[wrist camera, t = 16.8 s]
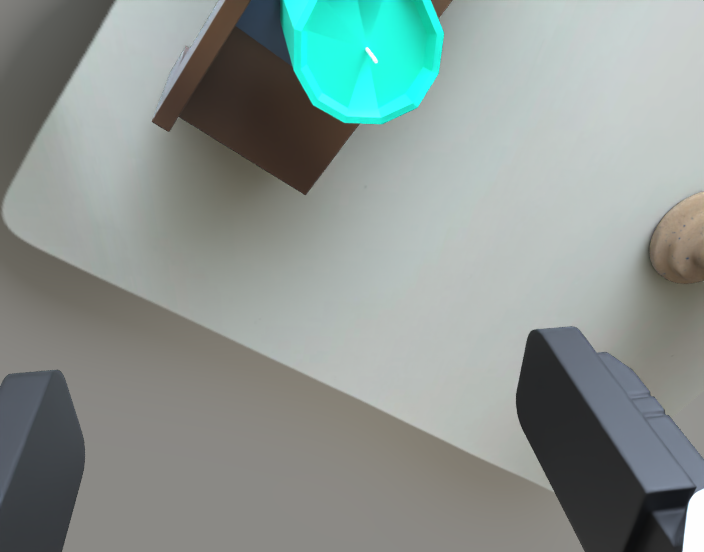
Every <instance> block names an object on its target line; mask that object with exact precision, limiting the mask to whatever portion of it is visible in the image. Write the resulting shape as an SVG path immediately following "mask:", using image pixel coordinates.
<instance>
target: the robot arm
mask: <svg viewBox="0 0 704 552" xmlns="http://www.w3.org/2000/svg"><path fill="white" fill-rule="evenodd" d="M516 408H517V414H518V418H519V422H520V424H521V427H522V429H523V431H524V433H525V435H526V437H527V439H528V441H529V443H530V445H531V447H532V449H533V451H534V453H535V455H536V457H537V459H538V461H539V463H540V465H541V466H542V468H543V470H544V472H545V474H546V476H547V478H548V480H549V482H550V484H551V486H552V488H553V490H554V492H555V494H556V496H557V498H558V500H559V502H560V504H561V506H562V508H563V510H564V511H565V514H566V515H567V517H568V519H569V521H570V523H571V525H572V527H573V529H574V531H575V533H576V535H577V537H578V539H579V541H580V543H581V545H582V547H583V549H584V551H585V552H704V459H703V458H702V456H701V455H700V454H699V453H698V451H697V450H696V449H695V447H694V446H693V445H692V444H691V443H690V441H689V440H688V439H687V437H686V436H685V435H684V434H683V432H682V431H681V430H680V429H679V427H678V426H677V425H676V424H675V422H674V421H673V420H672V419H671V417H670V416H669V415H665V410H664V409H663V407H662V406H661V405H660V404H659V402H658V401H657V400H656V399H655V397H654V396H653V397H651V395H650V391H649V390H648V389H647V387H646V386H645V385H644V383H643V382H642V381H641V380H640V378H639V377H638V376H637V375H636V373H635V372H634V371H633V370H632V369H631V368H629V367H628V366H626V365H625V364H623V363H622V362H621V361H619V360H618V359H616V358H615V357H613V356H612V355H610V354H609V353H607V352H600V353H596V351H595V350H594V349H593V347H592V346H591V345H590V343H589V342H588V341H587V339H586V338H585V337H584V335H583V334H582V333H581V331H580V330H579V329H578V328H576V327H573V326H570V327H559V328H547V329H536V330H532V331H531V332H530V333H529V335H528V338H527V342H526V347H525V352H524V357H523V362H522V367H521V372H520V377H519V382H518V387H517V393H516ZM84 463H85V446H84V438H83V435H82V431H81V428H80V424H79V421H78V418H77V415H76V412H75V409H74V406H73V402H72V399H71V396H70V393H69V390H68V387H67V383H66V380H65V378H64V375H63V374H62V372H61V371H59V370H50V371H49V370H48V371H39V372H38V371H37V372H26V373H14V374H9V375H7V376H6V377H5V378H4V380H3V382H2V384H1V386H0V552H62V549H63V545H64V541H65V538H66V534H67V531H68V527H69V523H70V520H71V516H72V512H73V509H74V505H75V501H76V497H77V494H78V490H79V486H80V483H81V479H82V475H83V471H84Z"/></svg>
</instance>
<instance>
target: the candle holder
mask: <svg viewBox="0 0 704 552" xmlns="http://www.w3.org/2000/svg"><path fill="white" fill-rule="evenodd" d="M649 252H650V259H651V263H652V265H653V267H654V268H655V269H656V271H657V272H658V273H659V274H660V275H661V276H663V277H664V278H665V279H667V280H669V281H671V282H675V283H680V284H689V283H696V282H700V281H703V280H704V192H700V193H697V194H694V195H692V196H690V197H688V198H686V199H684V200H683V201H681V202H680V203H678V204H677V205H676V206H675V207H673V208H672V209H671V210H670V211H669V212H668V213H667V214H666V215H665V216H664V217H663V219H662V220H661V221H660V222H659V224H658V226H657V227H656V229H655V231H654V233H653V235H652V239H651V242H650V249H649Z"/></svg>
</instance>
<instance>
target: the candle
mask: <svg viewBox="0 0 704 552" xmlns="http://www.w3.org/2000/svg"><path fill="white" fill-rule="evenodd" d="M280 22H281V26H282V29H283V33H284V37H285V40H286V44H287V48H288V51H289V55H290V59H291V63H292V66H293V70H294V72H295V74H296V76H297V77H298V79H299V81H300V83H301V85H302V86H303V88H304V90H305V92H306V94H307V95H308V97H309V99H310V101H311V102H312V104H313V105H314V106H316V107H317V108H319V109H321V110H323V111H324V112H326V113H328V114H330V115H332V116H333V117H335V118H337V119H339V120H340V121H342V122H344V123H361V124H384V123H386V122H388V121H390V120H392V119H395V118H397V117H399V116H401V115H403V114H405V113H407V112H410V111H412V110H414V109H416V108H418V106H419V104H420V103H421V101H422V100H423V98H424V96H425V95H426V93H427V92H428V90H429V88H430V87H431V85H432V84H433V82H434V80H435V79H436V77H437V76H438V74H439V68H440V60H441V53H442V46H443V38H444V31H443V29H442V26H441V24H440V22H439V19H438V17H437V14H436V12H435V9H434V7H433V5H432V2H431V0H280Z"/></svg>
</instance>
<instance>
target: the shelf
mask: <svg viewBox="0 0 704 552" xmlns="http://www.w3.org/2000/svg"><path fill="white" fill-rule="evenodd" d="M431 2H432V5H433V7H434V9H435V12H436V14H437V17H438V19H439V18H440V16H441V15H442V14H443V12H444V11H445V10H446V8H447V7H448V6H449V4H450V3H451V2H452V0H431ZM178 117H180V118H181V119H183V120H185V121H186V122H188V123H189V124H191V125H193V126H194V127H196V128H198V129H199V130H201V131H202V132H204V133H206V134H207V135H209V136H210V137H212V138H214V139H215V140H217V141H219V142H220V143H222V144H223V145H225V146H227V147H228V148H230V149H231V150H233V151H235V152H236V153H238V154H240V155H241V156H243V157H244V158H246V159H248V160H249V161H251V162H252V163H254V164H256V165H257V166H259V167H261V168H262V169H264V170H265V171H267V172H269V173H270V174H272V175H273V176H275V177H277V178H278V179H280V180H282V181H283V182H285V183H286V184H288V185H290V186H291V187H293V188H294V189H296V190H298V191H299V192H301V193H303V194H304V195H306V194H307V193H308V192H309V190H310V189H311V188H312V186H313V185H314V184H315V182H316V181H317V180H318V178H319V177H320V176H321V174H322V173H323V172H324V170H325V169H326V168H327V166H328V165H329V164H330V162H331V161H332V160H333V158H334V157H335V156H336V154H337V153H338V152H339V150H340V149H341V148H342V146H343V145H344V144H345V142H346V141H347V140H348V138H349V137H350V136H351V134H352V133H353V132H354V130H355V129H356V128H357V126H358V125H359V124H360V123H344V122H342V121H340V120H339V119H337V118H335V117H333V116H332V115H330V114H328V113H326V112H324V111H323V110H321V109H319V108H317V107H316V106H314V105H313V104H312V102H311V101H310V99H309V97H308V95H307V94H306V92H305V90H304V88H303V86H302V85H301V83H300V81H299V79H298V77H297V76H296V74H295V72H294V70H293V66H292V63H291V59H290V55H289V51H288V48H287V44H286V40H285V37H284V33H283V29H282V26H281V22H280V0H219V1H218V2H217V4H216V6H215V7H214V9H213V11H212V12H211V14H210V16H209V17H208V19H207V21H206V22H205V24H204V26H203V27H202V29H201V31H200V32H199V34H198V36H197V37H196V39H195V41H194V42H193V44H192V46H191V47H190V48H188V47H187V46H186V47H185V48H184V50H183V52H182V53H181V55H180V57H179V58H178V60H177V62H176V63H175V65H174V67H173V68H172V70H171V72H170V74H169V77H168V79H167V82H166V85H165V87H164V90H163V93H162V95H161V98H160V101H159V103H158V106H157V108H156V111H155V114H154V116H153V119H152V122H153V123H155V124H156V125H158V126H160V127H161V128H163V129H164V130H166V131H168V132H169V131H170V130H171V128H172V127H173V125H174V123H175V122H176V120H177V119H178Z"/></svg>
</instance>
